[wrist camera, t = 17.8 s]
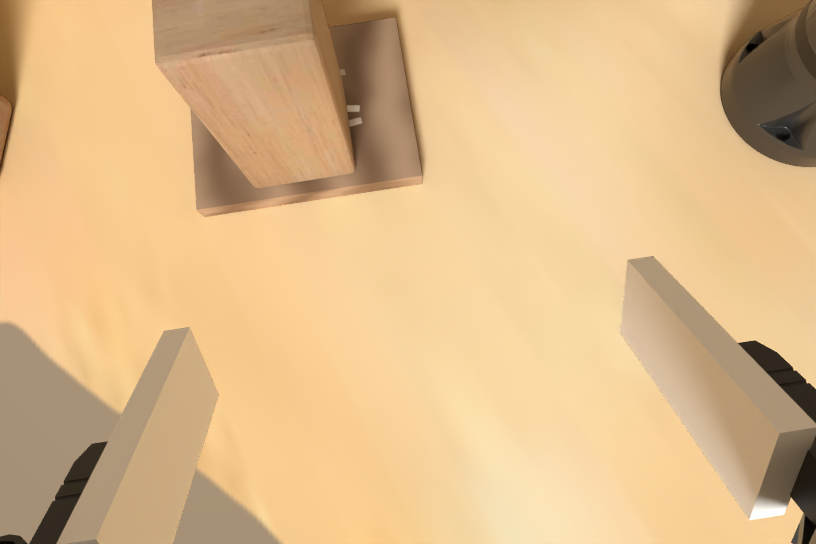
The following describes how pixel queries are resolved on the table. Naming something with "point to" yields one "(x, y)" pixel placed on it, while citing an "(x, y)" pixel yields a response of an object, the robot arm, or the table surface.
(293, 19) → the wooden block
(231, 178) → the marked board
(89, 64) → the table surface
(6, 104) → the block
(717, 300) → the table surface
